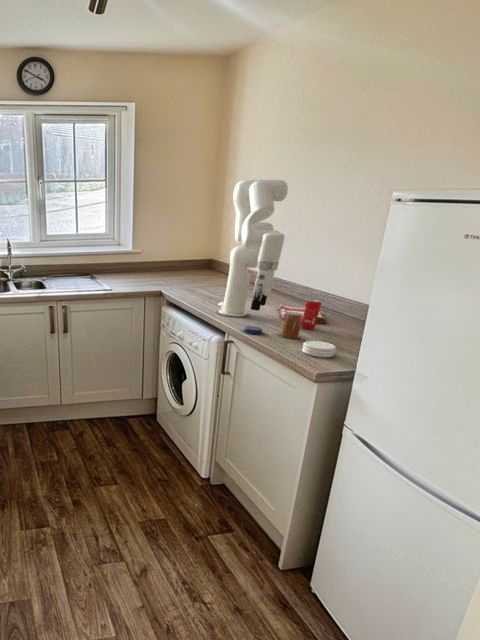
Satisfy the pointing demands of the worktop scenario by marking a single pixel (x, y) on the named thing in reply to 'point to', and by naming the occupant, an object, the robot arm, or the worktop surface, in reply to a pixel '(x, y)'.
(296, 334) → the jam jar
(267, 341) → the worktop surface
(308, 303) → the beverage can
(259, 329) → the jam lid
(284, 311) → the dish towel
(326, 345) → the coaster
